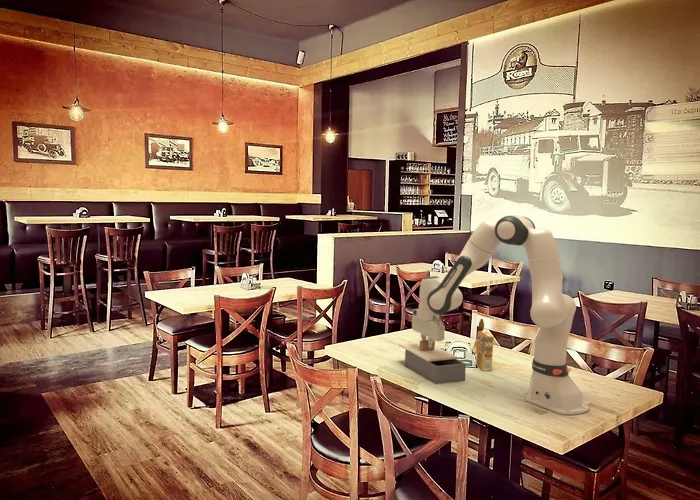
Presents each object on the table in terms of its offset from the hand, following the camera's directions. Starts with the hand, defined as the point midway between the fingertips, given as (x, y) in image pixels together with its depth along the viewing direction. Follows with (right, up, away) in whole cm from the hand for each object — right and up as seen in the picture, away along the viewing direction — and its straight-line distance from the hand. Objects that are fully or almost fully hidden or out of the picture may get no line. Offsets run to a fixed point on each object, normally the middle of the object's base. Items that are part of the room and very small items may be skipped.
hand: (426, 345), depth 230 cm
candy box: (+25, -11, +5) cm, 28 cm away
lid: (0, -3, 0) cm, 3 cm away
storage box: (+2, -10, -4) cm, 12 cm away
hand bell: (+29, -8, +30) cm, 43 cm away
